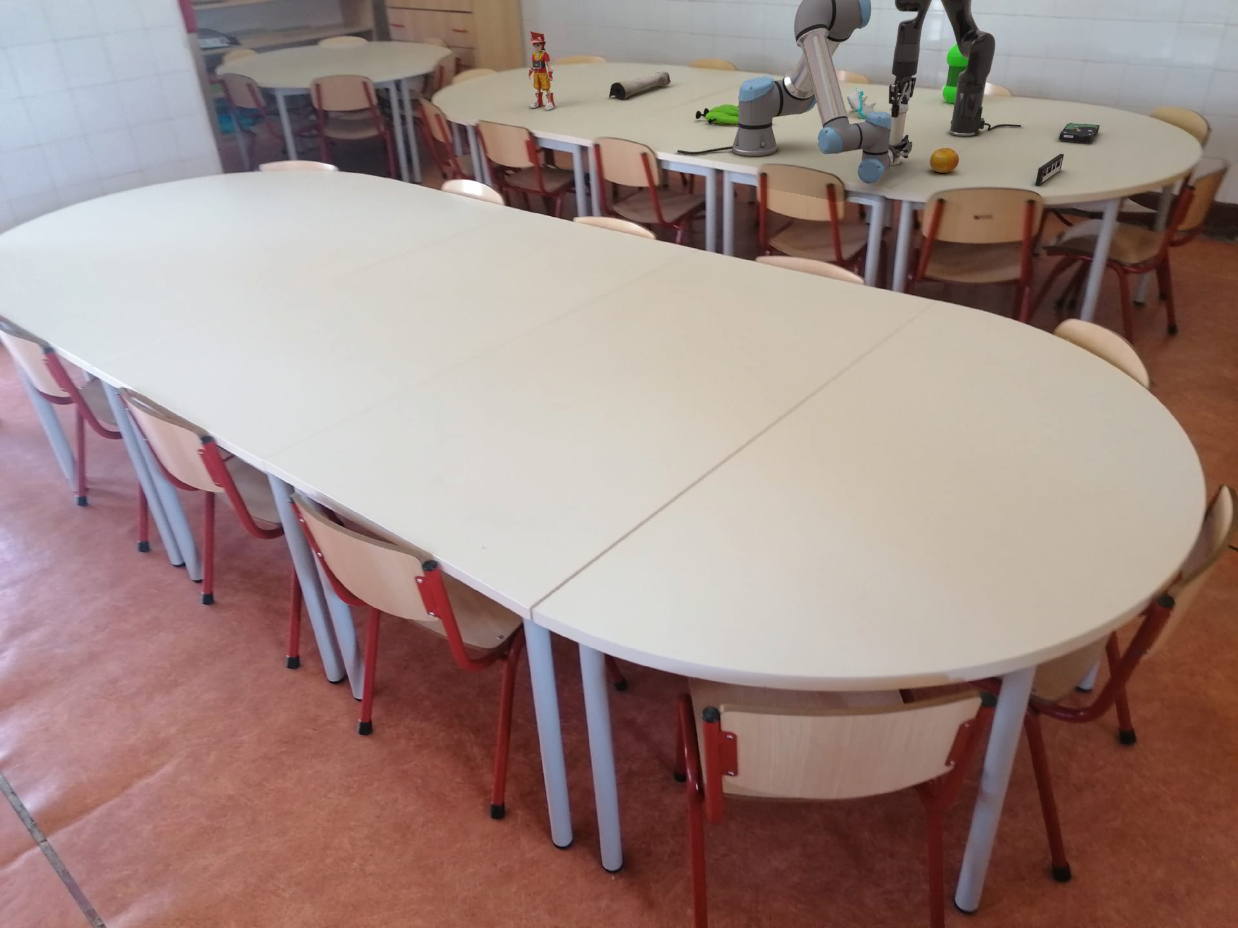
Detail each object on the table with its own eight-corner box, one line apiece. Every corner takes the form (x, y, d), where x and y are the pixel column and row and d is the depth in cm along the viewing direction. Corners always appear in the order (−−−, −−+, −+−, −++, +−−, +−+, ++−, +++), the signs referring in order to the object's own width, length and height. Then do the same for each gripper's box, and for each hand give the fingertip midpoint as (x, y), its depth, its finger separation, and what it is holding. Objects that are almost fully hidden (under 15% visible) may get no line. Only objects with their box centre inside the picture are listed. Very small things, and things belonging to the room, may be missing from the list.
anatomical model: (842, 87, 348) (867, 80, 347) (844, 114, 354) (869, 107, 353) (853, 96, 336) (879, 89, 335) (855, 124, 342) (881, 117, 341)
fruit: (924, 163, 281) (941, 140, 278) (925, 165, 289) (941, 143, 286) (946, 178, 280) (963, 155, 277) (947, 180, 288) (963, 158, 285)
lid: (887, 110, 287) (887, 105, 286) (901, 108, 289) (901, 103, 288) (897, 113, 283) (898, 108, 282) (911, 111, 285) (912, 106, 284)
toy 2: (685, 123, 344) (756, 136, 332) (687, 109, 342) (758, 121, 329) (718, 112, 365) (786, 123, 352) (719, 98, 362) (788, 110, 350)
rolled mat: (651, 76, 408) (662, 61, 399) (662, 93, 408) (674, 79, 400) (605, 92, 391) (616, 77, 383) (617, 110, 391) (628, 95, 383)
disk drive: (1091, 144, 300) (1098, 132, 310) (1093, 136, 299) (1100, 124, 309) (1057, 141, 305) (1066, 130, 315) (1059, 133, 303) (1067, 121, 313)
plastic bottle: (973, 101, 354) (984, 32, 339) (955, 106, 349) (966, 36, 335) (952, 97, 361) (962, 29, 346) (934, 102, 356) (944, 33, 342)
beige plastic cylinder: (891, 159, 298) (898, 105, 288) (902, 162, 295) (909, 107, 285) (882, 162, 296) (889, 107, 286) (893, 165, 293) (900, 110, 283)
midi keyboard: (1039, 185, 269) (1043, 168, 266) (1035, 184, 270) (1038, 168, 267) (1060, 170, 279) (1064, 154, 277) (1056, 169, 280) (1060, 153, 277)
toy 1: (525, 109, 381) (517, 32, 364) (534, 104, 388) (527, 28, 371) (550, 110, 377) (543, 32, 360) (559, 105, 384) (553, 28, 367)
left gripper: (852, 168, 284) (871, 148, 301) (908, 173, 277) (924, 152, 294) (854, 143, 280) (873, 125, 297) (911, 148, 273) (927, 128, 290)
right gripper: (905, 53, 283) (898, 109, 293) (883, 61, 275) (877, 118, 284) (927, 55, 279) (919, 112, 289) (906, 63, 271) (899, 122, 280)
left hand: (898, 138), depth 295 cm, fingers closed on beige plastic cylinder, 4 cm apart
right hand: (898, 115), depth 287 cm, fingers closed on lid, 5 cm apart
